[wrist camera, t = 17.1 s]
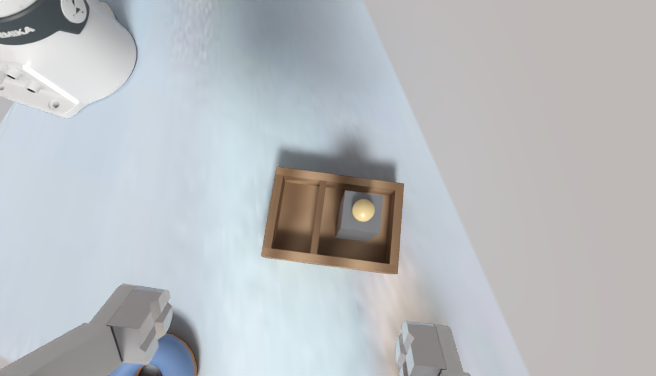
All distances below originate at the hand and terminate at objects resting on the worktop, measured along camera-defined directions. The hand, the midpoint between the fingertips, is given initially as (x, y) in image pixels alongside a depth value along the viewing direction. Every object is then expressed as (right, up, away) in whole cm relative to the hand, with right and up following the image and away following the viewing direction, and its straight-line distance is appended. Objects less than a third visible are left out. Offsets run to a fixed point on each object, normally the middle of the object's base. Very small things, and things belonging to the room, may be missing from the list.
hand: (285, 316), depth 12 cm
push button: (+5, 0, +32) cm, 32 cm away
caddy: (+2, 0, +33) cm, 33 cm away
